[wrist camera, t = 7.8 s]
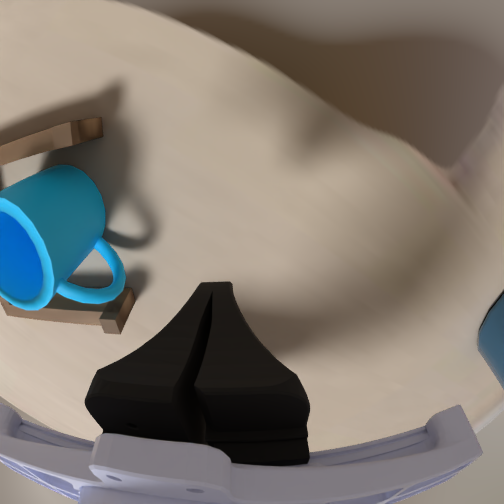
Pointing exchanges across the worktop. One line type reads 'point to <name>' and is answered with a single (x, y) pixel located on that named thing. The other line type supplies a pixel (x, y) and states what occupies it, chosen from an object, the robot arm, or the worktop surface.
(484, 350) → the wine bottle
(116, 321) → the wooden crate frame
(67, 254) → the mug
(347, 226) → the worktop surface
